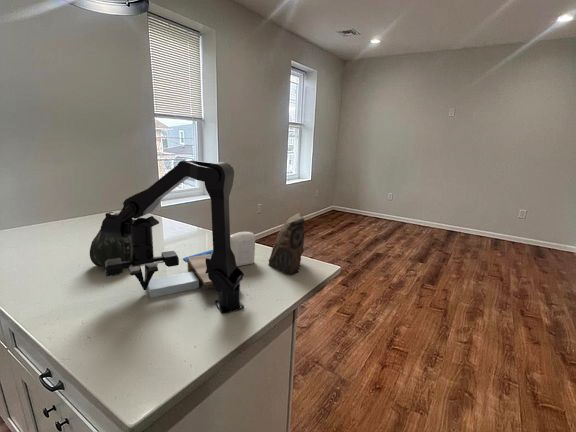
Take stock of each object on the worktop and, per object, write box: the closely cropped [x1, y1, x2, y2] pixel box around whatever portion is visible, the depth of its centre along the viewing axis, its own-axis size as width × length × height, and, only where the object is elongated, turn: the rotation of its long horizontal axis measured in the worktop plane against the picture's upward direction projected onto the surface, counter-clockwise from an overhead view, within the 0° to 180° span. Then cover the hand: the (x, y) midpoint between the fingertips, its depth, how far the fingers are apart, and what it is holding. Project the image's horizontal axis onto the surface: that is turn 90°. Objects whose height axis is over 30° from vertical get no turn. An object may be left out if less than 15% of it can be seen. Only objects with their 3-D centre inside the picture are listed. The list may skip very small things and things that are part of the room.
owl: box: [267, 211, 306, 276], centre depth 110 cm, size 13×13×20 cm
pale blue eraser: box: [147, 271, 200, 299], centre depth 94 cm, size 7×14×2 cm, turn 121°
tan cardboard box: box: [186, 254, 241, 290], centre depth 100 cm, size 20×11×5 cm, turn 31°
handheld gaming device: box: [182, 249, 213, 263], centre depth 118 cm, size 8×1×15 cm
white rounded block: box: [230, 231, 256, 267], centre depth 113 cm, size 10×4×12 cm, turn 123°
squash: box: [89, 228, 132, 269], centre depth 106 cm, size 14×15×15 cm
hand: (144, 289), depth 90 cm, fingers closed
